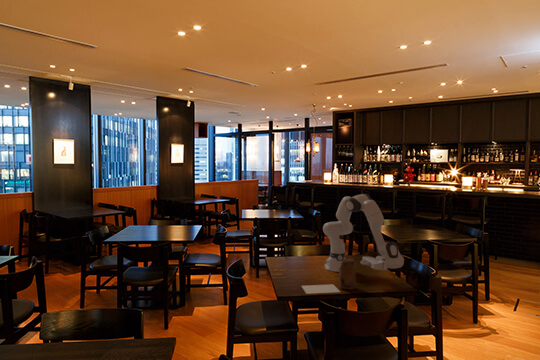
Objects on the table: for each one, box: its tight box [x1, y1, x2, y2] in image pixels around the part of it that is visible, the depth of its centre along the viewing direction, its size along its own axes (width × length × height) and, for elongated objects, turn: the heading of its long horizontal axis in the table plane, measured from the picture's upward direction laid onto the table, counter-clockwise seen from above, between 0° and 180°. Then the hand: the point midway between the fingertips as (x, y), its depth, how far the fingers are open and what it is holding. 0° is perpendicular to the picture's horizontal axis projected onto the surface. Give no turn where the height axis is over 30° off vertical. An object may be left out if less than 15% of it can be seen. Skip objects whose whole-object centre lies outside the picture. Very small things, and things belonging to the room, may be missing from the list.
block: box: [338, 257, 357, 291], centre depth 236 cm, size 11×8×20 cm
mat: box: [301, 283, 341, 295], centre depth 234 cm, size 15×23×1 cm, turn 98°
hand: (361, 263), depth 237 cm, fingers closed
